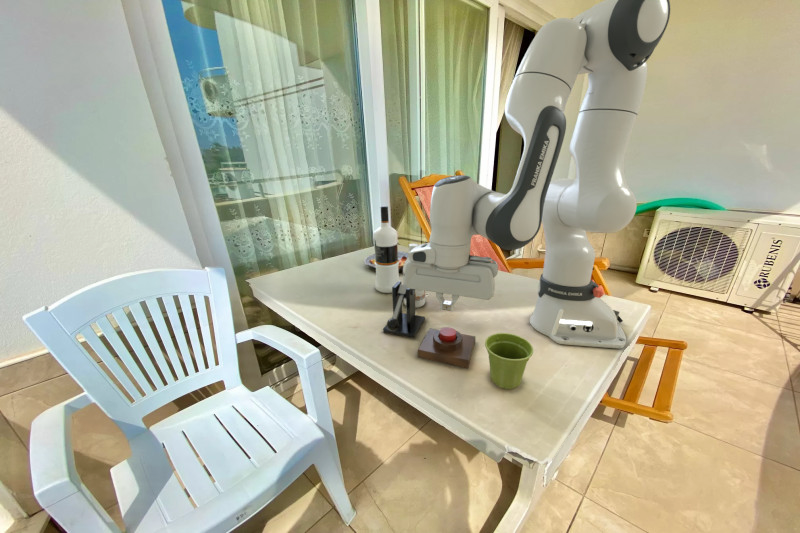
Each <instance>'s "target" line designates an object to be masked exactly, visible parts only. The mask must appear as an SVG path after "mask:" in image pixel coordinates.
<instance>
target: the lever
mask: <svg viewBox="0 0 800 533" xmlns="http://www.w3.org/2000/svg"><path fill="white" fill-rule="evenodd" d="M406 289H407V286H406V285H403V283H401V284H400V287H399V290H398V295H399V300H398V303H397V306H396V309H395V312H394V315H393V314H392V317H393V318H392V317H391V318H389V319H388V320H387V321H386V325H387V328H388V329H389V330H390V331H396V330H397V329H398V328H399V322H398V320H397V319H398V316H399V313H400V310H401V307H402V308H403V304H404V298H406Z"/></svg>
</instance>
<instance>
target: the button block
mask: <svg viewBox="0 0 800 533" xmlns="http://www.w3.org/2000/svg"><path fill="white" fill-rule="evenodd" d="M439 336H440V329H437V328H433V327H432V328H431V327H430V328H429V329H428V331H427V332H426V334H425V336H424V338H423V340H422V342H421V343H420V345H419V347H418V349H417V357H418V358H421V359H425V360H430V361H434V362H439V363H443V364H448V365H452V366H457V367H461V368H466V369H468V368H469V367H470V363H471V360H472V357H473V353H474V349H475V345H476V336H475V335H470V334H465V333H461V332H459V331H457V330H456V340H455V341H453V342H445V341H442V340H441V339H440V337H439Z"/></svg>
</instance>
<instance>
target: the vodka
mask: <svg viewBox="0 0 800 533" xmlns="http://www.w3.org/2000/svg"><path fill="white" fill-rule="evenodd" d="M379 208H380V226H379V227H377V228H376V229H375V230H374V231H373V233H372V234H373V235H372V237H373V245H374V254H375V262H376V263H375V265H376V268H375V283H374V284H375V285H374V287H375V289H376V291H377V292H379V293H382V294H392V287H393V286H394V285H395V284H396V283H397V282H398V281H401V279H400V274H399V272H400V271H398V264H399V262H398V243H399V240H398V237H399V236H398V235H399V234H398V231H397V230H396V229H395V228H394V227H392V226H391V225H390V221H389V220H390V219H389V206H388V205H382V206H380V207H379Z"/></svg>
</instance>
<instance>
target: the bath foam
mask: <svg viewBox="0 0 800 533" xmlns="http://www.w3.org/2000/svg"><path fill="white" fill-rule="evenodd" d="M418 245H419V244H418V243H409V244H408V253H409V252H410V251H411V250H412V249H413V248H415V247H416V246H418ZM409 261H410V260H409V258H407V260H406V261H405V263H404V266H403V270H402V284H403V285H405V269H406V265H407V263H408V262H409ZM425 303H426V291H423V290H417V289H415V309H417V308H420V307H422V306H424V305H425ZM403 304H404V305H405V306H406V298H404V300H403Z"/></svg>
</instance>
